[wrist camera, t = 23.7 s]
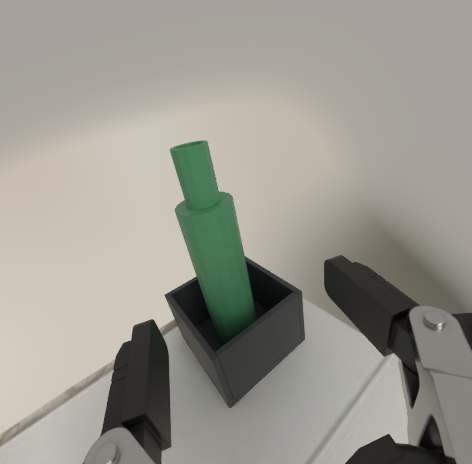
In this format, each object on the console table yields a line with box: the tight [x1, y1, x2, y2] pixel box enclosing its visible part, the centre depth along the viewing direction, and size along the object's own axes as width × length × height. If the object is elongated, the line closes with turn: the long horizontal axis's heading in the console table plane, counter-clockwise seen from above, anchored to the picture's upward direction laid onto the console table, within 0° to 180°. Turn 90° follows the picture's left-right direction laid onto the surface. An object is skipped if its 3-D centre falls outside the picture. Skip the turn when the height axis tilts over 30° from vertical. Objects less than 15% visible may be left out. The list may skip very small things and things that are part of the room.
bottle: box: [170, 141, 257, 347], centre depth 25 cm, size 5×5×23 cm
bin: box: [165, 257, 305, 408], centre depth 29 cm, size 11×11×8 cm
